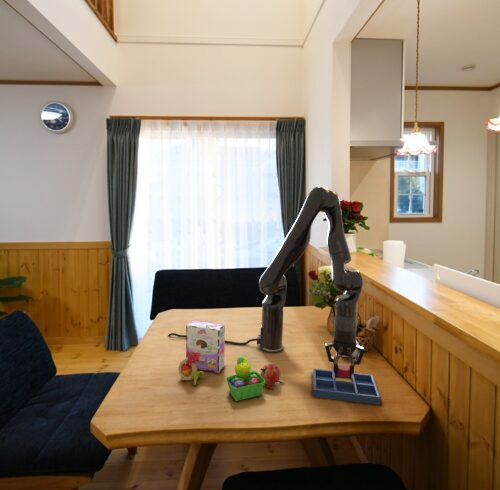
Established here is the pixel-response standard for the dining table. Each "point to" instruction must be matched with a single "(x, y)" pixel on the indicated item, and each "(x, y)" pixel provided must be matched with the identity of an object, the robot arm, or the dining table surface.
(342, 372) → the short red cylinder
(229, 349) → the dining table surface
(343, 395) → the grid
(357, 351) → the die
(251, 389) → the fruit basket
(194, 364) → the bird rattle
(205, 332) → the candy box
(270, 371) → the pomegranate
